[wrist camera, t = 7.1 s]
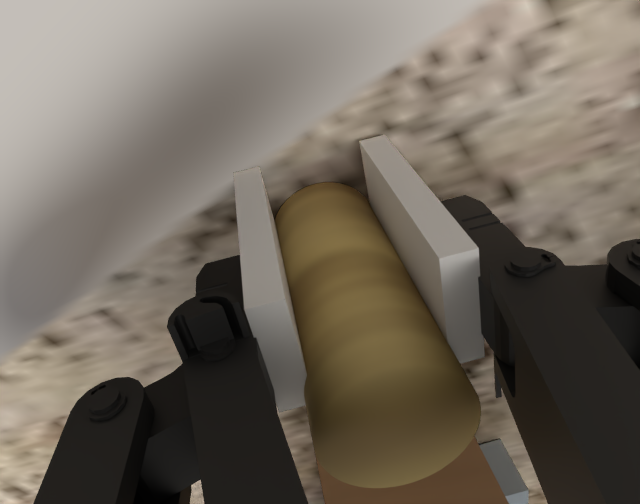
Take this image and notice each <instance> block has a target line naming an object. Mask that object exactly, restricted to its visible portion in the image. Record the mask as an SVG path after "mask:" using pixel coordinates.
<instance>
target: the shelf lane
mask: <svg viewBox="0 0 640 504" xmlns="http://www.w3.org/2000/svg"><path fill="white" fill-rule="evenodd" d="M479 446H480V448H481V450H482V452H483V454H484V456H485V458H486V460H487V462H488V464H489V466H490V468H491V470H492V472H493V474H494V476H495V478H496V480H497V482H498V483H499V485H500V487H501V489H502V491H503V493H504V495H505V497H506V499H507V501H508V503H509V504H528V488H527V486H526V485H525V483H524V481H523V479H522V477H521V476H520V474H519V472H518V470H517V468H516V467H515V465H514V463H513V461H512V459H511V458H510V456H509V454H508V452H507V450H506V449H505V447H504V445H503V443H502V441H501V440H500V439H499V440H495V441H492V442H488V443H484V444H481V445H479Z"/></svg>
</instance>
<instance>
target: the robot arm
mask: <svg viewBox="0 0 640 504" xmlns="http://www.w3.org/2000/svg"><path fill="white" fill-rule="evenodd" d="M359 143H360V149H361V155H362V161H363V167H364V173H365V179H366V185H367V191H368V196H369V202H370V206H371V207H372V209H373V211H374V213H375V215H376V216H377V218H378V220H379V222H380V223H381V225H382V227H383V229H384V231H385V232H386V234H387V236H388V238H389V239H390V241H391V243H392V245H393V247H394V248H395V250H396V252H397V254H398V255H399V257H400V259H401V261H402V263H403V264H404V266H405V268H406V270H407V271H408V273H409V275H410V277H411V279H412V280H413V282H414V284H415V286H416V287H417V289H418V291H419V293H420V295H421V296H422V298H423V300H424V302H425V303H426V305H427V307H428V309H429V311H430V312H431V314H432V316H433V318H434V320H435V321H436V323H437V325H438V327H439V328H440V330H441V332H442V334H443V336H444V337H445V339H446V341H447V343H448V344H449V345H450V347H451V349H452V350H453V352H454V354H455V356H456V358H457V359H458V361H459V363H460V364H461V363H464V362H468V361H472V360H476V359H479V358H483V357H485V353H484V338H485V339H486V341H487V342H488V344H489V345H490V347H491V348H492V350H493V352H494V373H495V392H496V398H498V397H502V394H501V388H502V390H503V392H504V395H505V397H506V400H507V402H508V405H509V407H510V410H511V412H512V415H513V417H514V420H515V422H516V425H517V427H518V430H519V432H520V435H521V437H522V440H523V442H524V445H525V447H526V450H527V452H528V455H529V457H530V460H531V462H532V465H533V467H534V470H535V472H536V475H537V477H538V480H539V482H540V485H541V487H542V490H543V492H544V494H545V497H546V499H547V502H548V504H640V239H635V240H630V241H624V242H621V243H619V244H618V245H616V246H614V247H612V249H611V250H610V252H609V253H608V258H607V264H604V265H585V266H565V265H564V264H563V262H562V261H561V260H560V259H559V258H558V257H557V256H556V255H554V254H553V253H551V252H548V251H546V250H543V249H538V248H531V247H525V246H524V245H523V244H522V243H521V242H520V241H519V240H518V239H517V238H516V237H515V236H514V234H513V233H512V232H511V231H510V230H509V229H508V228H507V227H506V226H505V225H504V224H503V223H500V220H499V219H498V218H497V217H496V216H495V215H494V214H492V212H491V211H490V210H489V209H488V208H487V207H486V206H485V205H484V204H483V203H482V202H481V201H478V200H476V199H473V198H471V197H468V196H466V195H464V196H460V197H456V198H452V199H448V200H444V201H441V202H440V201H439V199H438V198H437V197H436V196H435V195H434V193H433V192H432V191H431V190H430V189H429V187H428V186H427V185H426V184H425V183H424V181H423V180H422V179H421V178H420V176H419V175H418V174H417V173H416V172H415V170H414V169H413V168H412V167H411V166H410V164H409V163H408V162H407V161H406V160H405V158H404V157H403V156H402V155H401V153H400V152H399V151H398V150H397V149H396V147H395V146H394V145H393V144H392V143H391V141H390V140H389V139H388V138H387V137H386V135H381V136H377V137H373V138H369V139H365V140H361V141H359ZM233 176H234V189H235V201H236V213H237V226H238V238H239V250H240V255H237V256H234V257H230V258H226V259H222V260H218V261H214V262H210V263H206V264H205V265H204V267H203V268H202V270H201V271H200V273H199V274H198V276H197V277H196V296H195V297H193V298H191V299H189V300H187V301H185V302H184V303H183V304H181V305H180V306H179V307H177V308H176V309H175V310H174V312H173V313H172V314H171V316H170V317H169V320H168V325H167V328H168V330H169V332H170V334H171V337H172V339H173V341H174V343H175V346H176V348H177V350H178V352H179V355H180V357H181V359H182V362H183V364H182V365H181V366H180V367H178V368H177V369H176V370H175V371H174V372H172V373H171V374H169V375H167V376H166V377H164V378H162V379H160V380H158V381H156V382H154V383H152V384H150V385H148V386H146V387H143V386H142V385H141V383H140V382H139V381H138V380H135V379H133V378H130V377H122V378H114V379H111V380H108V381H105V382H102V383H100V384H99V385H97V386H95V387H94V388H92V389H90V390H89V391H88V392H86V393H85V394H84V395H83V396H82V397H81V398H80V399H79V400H78V401H77V402H76V404H75V406H74V407H73V409H72V410H71V412H70V415H69V417H68V419H67V422H66V424H65V427H64V429H63V432H62V434H61V437H60V439H59V442H58V444H57V447H56V449H55V452H54V454H53V457H52V459H51V462H50V464H49V467H48V469H47V472H46V474H45V476H44V479H43V481H42V484H41V486H40V489H39V491H38V494H37V496H36V499H35V501H34V504H190V496H191V485H192V484H194V483H195V482H197V481H199V480H200V479H201V484H202V490H203V496H204V503H205V504H308V501H307V498H306V496H305V493H304V490H303V487H302V484H301V481H300V478H299V475H298V472H297V469H296V467H295V464H294V461H293V458H292V455H291V452H290V449H289V446H288V443H287V440H286V437H285V435H284V432H283V429H282V426H281V423H280V420H279V417H278V414H277V408H276V404H277V407H278V410H279V413H280V412H283V411H287V410H291V409H294V408H298V407H302V406H305V405H306V404H305V397H304V386H305V382H306V378H307V372H306V368H305V363H304V358H303V353H302V348H301V344H300V339H299V334H298V329H297V325H296V320H295V315H294V310H293V306H292V301H291V296H290V291H289V286H288V282H287V277H286V272H285V267H284V263H283V258H282V253H281V248H280V244H279V239H278V234H277V229H276V225H275V221H274V217H273V214H272V210H271V206H270V203H269V199H268V195H267V192H266V188H265V185H264V181H263V177H262V174H261V170H260V167H259V166H258V167H254V168H250V169H246V170H243V171H238V172H235V173H233Z"/></svg>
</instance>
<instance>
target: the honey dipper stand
mask: <svg viewBox="0 0 640 504" xmlns="http://www.w3.org/2000/svg"><path fill="white" fill-rule="evenodd" d="M275 225H276V229H277V234H278V239H279V244H280V248H281V253H282V258H283V263H284V267H285V272H286V277H287V282H288V286H289V291H290V296H291V301H292V306H293V310H294V315H295V320H296V325H297V329H298V334H299V339H300V344H301V348H302V353H303V358H304V363H305V368H306V372H307V378H306V382H305V386H304V397H305V404H306V409H307V414H308V419H309V425H310V430H311V435H312V440H313V445H314V450H315V455H316V460H317V465H318V470H319V475H320V480H321V486H322V491H323V496H324V501H325V504H509V503H508V501H507V499H506V497H505V495H504V493H503V491H502V489H501V487H500V485H499V483H498V482H497V480H496V478H495V476H494V474H493V472H492V470H491V468H490V466H489V464H488V462H487V460H486V458H485V456H484V454H483V452H482V450H481V448H480V446H479V444H478V442H477V441H476V439H475V437H474V435H475V433H476V431H477V429H478V426H479V422H480V416H481V406H480V401H479V397H478V395H477V393H476V391H475V389H474V388H473V386H472V384H471V382H470V381H469V379H468V377H467V375H466V373H465V372H464V370H463V368H462V366H461V365H460V363H459V361H458V359H457V358H456V356H455V354H454V352H453V350H452V349H451V347H450V345H449V344H448V343H447V341H446V339H445V337H444V336H443V334H442V332H441V330H440V328H439V327H438V325H437V323H436V321H435V320H434V318H433V316H432V314H431V312H430V311H429V309H428V307H427V305H426V303H425V302H424V300H423V298H422V296H421V295H420V293H419V291H418V289H417V287H416V286H415V284H414V282H413V280H412V279H411V277H410V275H409V273H408V271H407V270H406V268H405V266H404V264H403V263H402V261H401V259H400V257H399V255H398V254H397V252H396V250H395V248H394V247H393V245H392V243H391V241H390V239H389V238H388V236H387V234H386V232H385V231H384V229H383V227H382V225H381V223H380V222H379V220H378V218H377V216H376V215H375V213H374V211H373V209H372V207H371V206H370V203H369V202H368V200H367V199H366V198H365V197H364V196H363V195H362V194H361V193H360V192H358V191H357V190H355V189H354V188H352V187H350V186H347V185H344V184H340V183H334V182H324V183H317V184H313V185H310V186H307V187H305V188H303V189H301V190H299V191H297V192H296V193H294V194H293V195H292V196H291V197H289V198H288V199H287V200H286V201H285V203H284V204H283V205H282V206H281V208H280V210H279V211H278V213H277V215H276V218H275Z"/></svg>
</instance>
